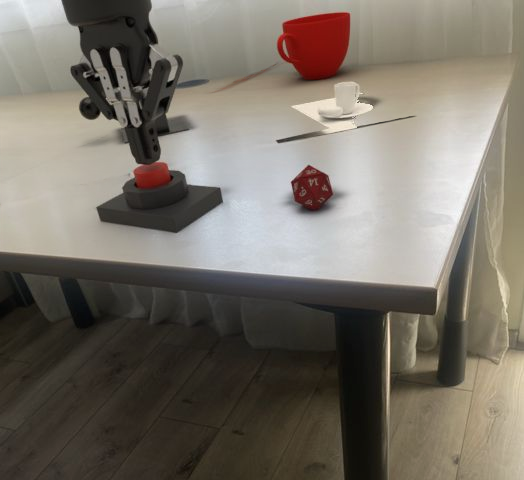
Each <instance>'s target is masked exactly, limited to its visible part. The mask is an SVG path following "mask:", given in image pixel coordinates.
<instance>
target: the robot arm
mask: <svg viewBox="0 0 524 480" xmlns="http://www.w3.org/2000/svg"><path fill="white" fill-rule="evenodd" d="M60 1H61V5H62V8H63V11H64V14H65V18H66V21H67V22H68V23H69V25H71V26H73V27H77V28H78V32H79V46H80V50H81V52H82V56H81V58H80V61H79V63H77V64H74V65H71V66H70V74H71V76H72V77H73V79H74V80H75V81H76V83H77V85H79V87H80V88H81V89H82V90H83V92H85V94H86V95H87V97H90V99H91V100H92V101H93V102H94V104H95V105H96V106H97V107H98V108H99V110H100V111H101V114H102V115H103V116H104V117H105V118H106V119H107V120H108V121H111V120H114V121H117V122H118V123H119V125H120V126H121V127H123V129H125V132H126V135H127V139H128V142H129V143H128V145H129V149H130V153H131V155H132V157H133V159H134V160H135V163H136V164H137V165H150V164H152V163H154V162H159V161H160V159H161V154H162V148H161V144H160V141H159V137H158V136H157V132H156V128H155V119H156V118H157V117H159V116H161V115H163V114H166V115H167V114H168V112H169V110H170V107H171V104H172V101H173V97H174V95H175V92H176V89H177V85H178V82H179V80H180V75H181V74H182V73H181V72H182V70H183V67H184V61H183V59H182V57H181V56H180V55H179V54H177V53H176V54H173V55H170V54H169V53H168V52H167V51H166V50H164V49H163V48H162V47H161V46H160V45H159V38H158V35H157V32H156V31H155V30H154V28H153V26H152V24H151V22H150V13H151V11H152V9H153V5H152V0H60ZM118 87H119V88H120V90H118ZM105 97H107V98H105ZM140 99H141V101H142V106H143V108H142V106H141V103H140Z"/></svg>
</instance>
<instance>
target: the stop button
mask: <svg viewBox="0 0 524 480" xmlns="http://www.w3.org/2000/svg"><path fill="white" fill-rule="evenodd" d="M169 170H170V169H169V165H168V163H166V162H164V161H156V162H154V163H152V164H150V165H142V164H140V165H139V166H137V167H135V168H134V169H133V176H134V177H135V180H136V184H137V187H138V188H152V187H157V186H161V185H164V184H166V183H168V182H170V181H171V177H170V173H169Z"/></svg>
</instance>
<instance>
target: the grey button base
mask: <svg viewBox="0 0 524 480" xmlns="http://www.w3.org/2000/svg"><path fill="white" fill-rule="evenodd" d="M169 173H170V177H171V181H170V182H168V183H166V184H164V185H161V186H157V187H152V188H138V187H137V184H136V180H135V176H134V177H133V178H131V179H129V180H127V181H125V182H124V184H123V186H122V187H121V189H122V193H120V194H118V195H116V196H114V197H112V198H111V199H109V200H106V201H105V202H103V203H102V204H99V205H98V206H96V207H95V208H96V211H97V215H98V219H99V221H100V222H101V223H108V224H114V225H121V226H127V227H134V228H140V229H141V228H142V229H147V230H155V231H162V232H168V233H174V234H177V233H179V232H181V231H183V230H184V229H185V228H187V227H188V226H190V225H191V224H193V223H195V222H196V221H198V220H199V219H200V218H202V217H203V216H205V215H206V214H208V213H210V212H211V211H212V210H214V209H215V208H217V207H218V206H220V205H221V204H223V203H224V200H223V195H222V189H221V187H220V186H208V185H197V184H188V181H187V178H186V174H185V173H183V172H182V171H180V170H175V169H174V170H173V169H169Z"/></svg>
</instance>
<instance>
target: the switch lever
mask: <svg viewBox="0 0 524 480" xmlns="http://www.w3.org/2000/svg"><path fill="white" fill-rule="evenodd" d="M105 98H106V99H107V97H105ZM78 111H79V113H80V115H81V116H82V117H83V118H84V119H86V120H89V121H94V120H97V119H99V117H100V116H101V114H102V112H101V111H100V110H99V108H98V107H97V106H96V105H95V104H94V102H93V101H92V100H91V99H90V97H89V96H86V97H83V98H82V99H81V100H80V101H79V104H78Z"/></svg>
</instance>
